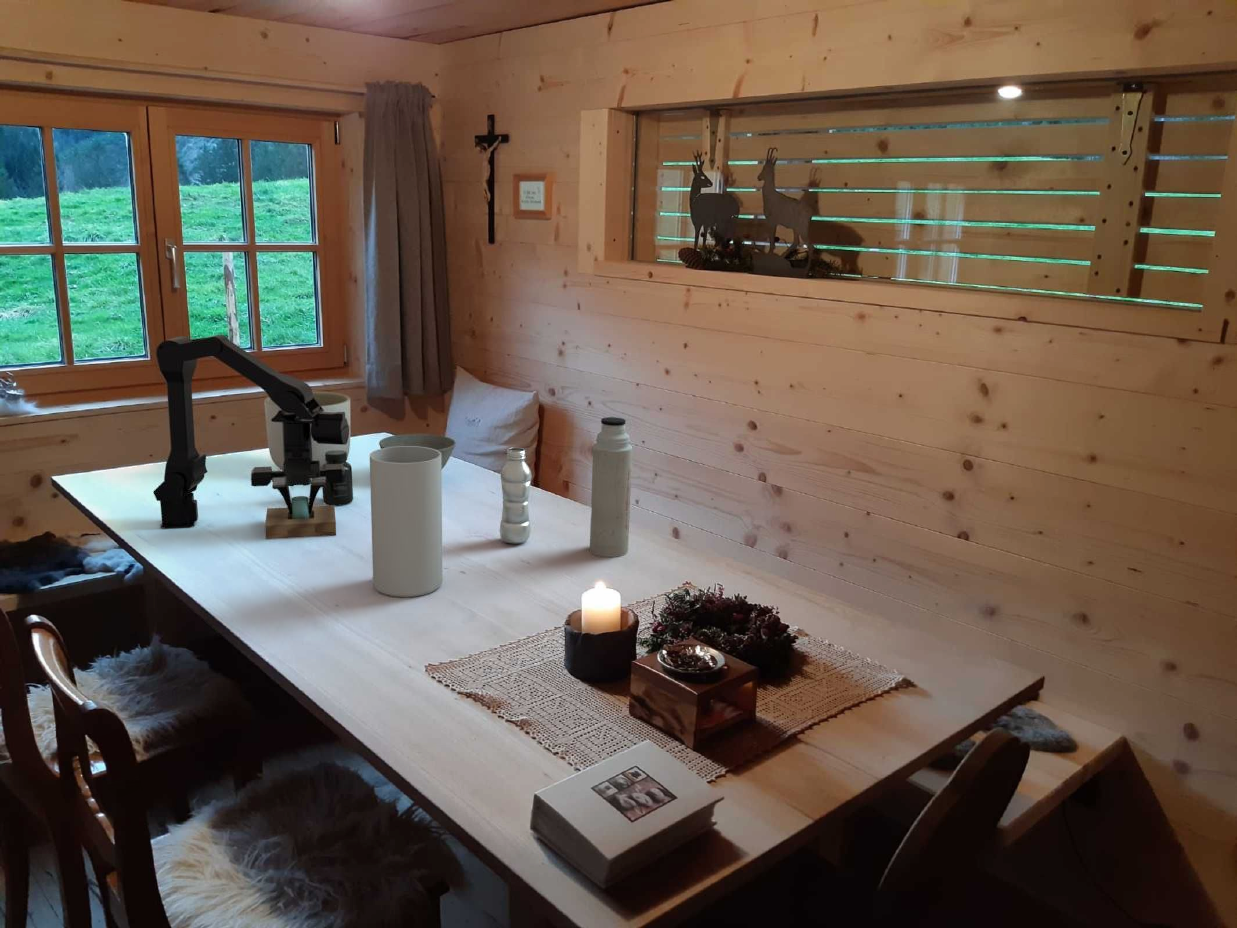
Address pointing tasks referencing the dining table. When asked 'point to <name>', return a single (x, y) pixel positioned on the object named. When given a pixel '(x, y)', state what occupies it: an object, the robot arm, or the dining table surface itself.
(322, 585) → the dining table surface
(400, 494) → the cylinder vase
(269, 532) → the bore block
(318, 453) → the planter
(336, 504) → the supplement bottle
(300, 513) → the pin
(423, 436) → the bowl
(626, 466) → the thermos bottle
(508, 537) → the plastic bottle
